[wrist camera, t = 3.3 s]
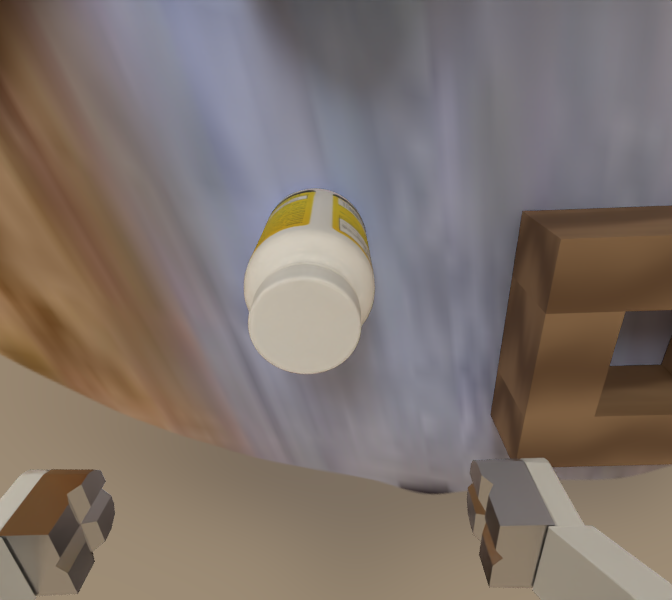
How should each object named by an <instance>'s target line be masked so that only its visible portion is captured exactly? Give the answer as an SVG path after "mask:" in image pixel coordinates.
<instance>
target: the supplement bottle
mask: <svg viewBox="0 0 672 600" xmlns="http://www.w3.org/2000/svg"><path fill="white" fill-rule="evenodd" d="M374 293H375V282H374V274H373V269H372V264H371V258H370V253H369V247H368V241H367V236H366V230H365V227H364V224H363V221H362V219H361V217H360V214H359V213H358V211H357V210H356V208H355V207H354V206H353V205H352V204H351V203H350V202H349V201H348V200H347V199H346V198H344V197H342V196H341V195H339V194H337V193H335V192H332V191H329V190H325V189H317V188H313V189H304V190H300V191H297V192H295V193H292V194H291V195H289V196H287V197H286V198H284V199H283V200H282V201H281V202H280V203H279V204H278V205H277V206H276V207H275V209H274V210H273V212H272V213H271V215H270V217H269V219H268V221H267V224H266V226H265V228H264V231H263V233H262V235H261V237H260V239H259V241H258V244H257V246H256V248H255V250H254V252H253V254H252V256H251V258H250V261H249V263H248V266H247V269H246V273H245V278H244V296H245V301H246V305H247V307H248V310H249V317H248V329H249V334H250V337H251V340H252V342H253V345H254V346H255V348H256V350H257V351H258V352H259V353H260V354H261V355H262V357H263V358H264V359H266V360H267V361H268V362H270V363H271V364H272V365H274V366H276V367H278V368H280V369H283V370H285V371H288V372H292V373H298V374H316V373H320V372H325V371H328V370H330V369H333V368H335V367H337V366H338V365H340V364H341V363H343V362H344V361H345V360H346V359H347V358H348V357H349V356H350V355H351V354H352V352H353V351H354V349H355V348H356V346H357V344H358V342H359V338H360V334H361V326H362V325H363V324H364V322H365V321H366V319H367V317H368V315H369V313H370V311H371V309H372V305H373V301H374Z"/></svg>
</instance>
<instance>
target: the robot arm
mask: <svg viewBox="0 0 672 600" xmlns="http://www.w3.org/2000/svg"><path fill="white" fill-rule="evenodd" d="M470 475H471V478H472V481H473V483H472V484H471V485H470V486H469V487H468V492H467V508H468V516H469V520H470V525H471V529H472V532H473V534H474V536H476V537H477V538H478V539H479V540H480V541H481V546H480V552H479V556H480V559H481V562H482V565H483V569H484V572H485V575H486V579H487V582H488V585H489V587H508V588H511V587H512V588H533V591H534V593H535V594H536V595H537V596H538V597H539V598H540V599H541V600H672V584H671V583H669V582H668V581H667V580H665V579H664V578H663V577H661V576H660V575H659V574H657V573H656V572H655V571H653V570H652V569H650V568H649V567H648V566H646V565H645V564H644V563H642V562H641V561H640V560H638V559H637V558H635V557H634V556H633V555H631V554H630V553H629V552H628V551H626V550H625V549H624V548H622V547H621V546H620V545H618V544H617V543H615V542H614V541H613V540H611V539H610V538H609V537H607V536H606V535H605V534H603V533H602V532H601V531H599V530H598V529H597V528H595V527H594V526H585V525H584V523H583V521H582V519H581V517H580V516H579V514H578V512H577V510H576V509H575V507H574V505H573V503H572V502H571V500H570V498H569V496H568V495H567V493H566V491H565V489H564V487H563V486H562V484H561V482H560V480H559V479H558V477H557V475H556V473H555V472H554V470H553V468H552V466H551V464H550V463H549V461H548V460H546V459H545V458H521V459H518V458H515V459H487V460H473V461H472V463H471V468H470ZM105 482H106V481H105V479H104V477H103V475H102V472H101V471H100V470H61V469H60V470H58V469H56V470H55V469H54V470H53V469H52V470H28V471H26V472H25V473H23V474H21V475H20V476H19V478H18V479H17V480H16V481H15V482H14V484H13V485H12V486H11V487H10V488H9V490H8V491H7V492H6V493H5V494H4V496H3V497H2V498H1V499H0V600H35V599H36V596H43V595H44V596H45V595H66V594H78V592H79V591H80V589H81V587H82V585H83V583H84V581H85V579H86V577H87V575H88V573H89V572H90V570H91V568H92V566H93V564H94V562H95V561H94V556H93V551H94V550H95V549H97V548H98V547H99V546H100V545H101V544H103V543H104V542H105V541H106V539H107V537H108V534H109V532H110V530H111V528H112V523H113V519H114V515H115V511H114V502H113V500H112V497H111V495H110V494H108V493H107V492H105V491H104V490H103V489H102V487H103V485H104V483H105Z"/></svg>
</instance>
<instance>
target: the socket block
mask: <svg viewBox="0 0 672 600" xmlns="http://www.w3.org/2000/svg"><path fill="white" fill-rule="evenodd" d="M656 310H672V206H647V207H620V208H593V209H567V210H540V211H522V217H521V224H520V230H519V237H518V243H517V249H516V256H515V262H514V269H513V275H512V281H511V288H510V294H509V301H508V307H507V313H506V320H505V326H504V333H503V339H502V345H501V352H500V358H499V365H498V371H497V377H496V384H495V390H494V397H493V403H492V409H491V417H492V419H493V421H494V424H495V426H496V428H497V430H498V432H499V435H500V437H501V439H502V441H503V443H504V446H505V448H506V450H507V452H508V455H509V457H510V459H515V458H518V459H521V458H545V459H546V460H548V461H549V463H550V464H551V466H552V467H577V466H619V465H660V464H672V337H671V339H670V342H669V345H668V348H667V351H666V353H665V356H664V359H663V362H662V364H661V365H634V366H610V362H611V359H612V356H613V352H614V349H615V345H616V342H617V339H618V335H619V332H620V329H621V325H622V322H623V318H624V315H625V312H626V311H656Z"/></svg>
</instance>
